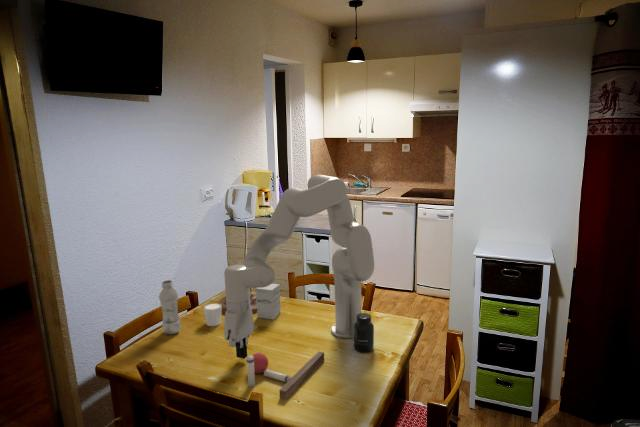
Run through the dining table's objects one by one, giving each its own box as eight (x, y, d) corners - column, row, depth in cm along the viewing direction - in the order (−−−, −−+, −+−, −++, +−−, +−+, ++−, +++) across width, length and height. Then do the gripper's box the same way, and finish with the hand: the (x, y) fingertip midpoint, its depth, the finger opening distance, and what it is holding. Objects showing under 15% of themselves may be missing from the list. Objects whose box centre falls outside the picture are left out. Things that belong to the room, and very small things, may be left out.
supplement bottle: (360, 355, 146) (360, 321, 144) (349, 347, 152) (349, 314, 150) (377, 350, 150) (377, 317, 147) (366, 342, 156) (366, 310, 153)
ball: (256, 347, 137) (256, 351, 142) (244, 363, 134) (244, 367, 139) (272, 358, 136) (271, 362, 141) (261, 375, 133) (260, 378, 138)
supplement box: (256, 318, 178) (255, 288, 176) (265, 310, 185) (263, 281, 182) (273, 320, 175) (271, 289, 173) (281, 312, 182) (280, 283, 180)
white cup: (226, 321, 175) (225, 305, 174) (213, 328, 170) (212, 311, 168) (213, 318, 179) (212, 301, 178) (201, 324, 173) (199, 307, 172)
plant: (224, 297, 201) (222, 274, 199) (267, 297, 200) (265, 274, 198) (210, 316, 182) (208, 290, 180) (257, 316, 180) (256, 290, 178)
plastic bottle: (176, 337, 163) (171, 285, 159) (159, 335, 165) (154, 284, 161) (184, 329, 169) (180, 279, 166) (168, 328, 171) (163, 278, 167)
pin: (262, 374, 135) (287, 382, 130) (265, 368, 136) (289, 375, 131) (266, 376, 136) (290, 384, 132) (268, 370, 137) (293, 377, 133)
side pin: (256, 383, 132) (255, 356, 130) (252, 387, 130) (250, 359, 128) (251, 382, 133) (249, 354, 131) (246, 385, 131) (245, 357, 129)
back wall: (324, 359, 145) (324, 352, 144) (285, 399, 124) (285, 391, 123) (318, 358, 146) (318, 351, 145) (279, 397, 125) (279, 389, 124)
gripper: (243, 294, 149) (246, 344, 153) (213, 310, 136) (217, 365, 140) (261, 297, 146) (264, 349, 150) (233, 314, 133) (237, 370, 137)
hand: (241, 356), depth 145 cm, fingers closed
